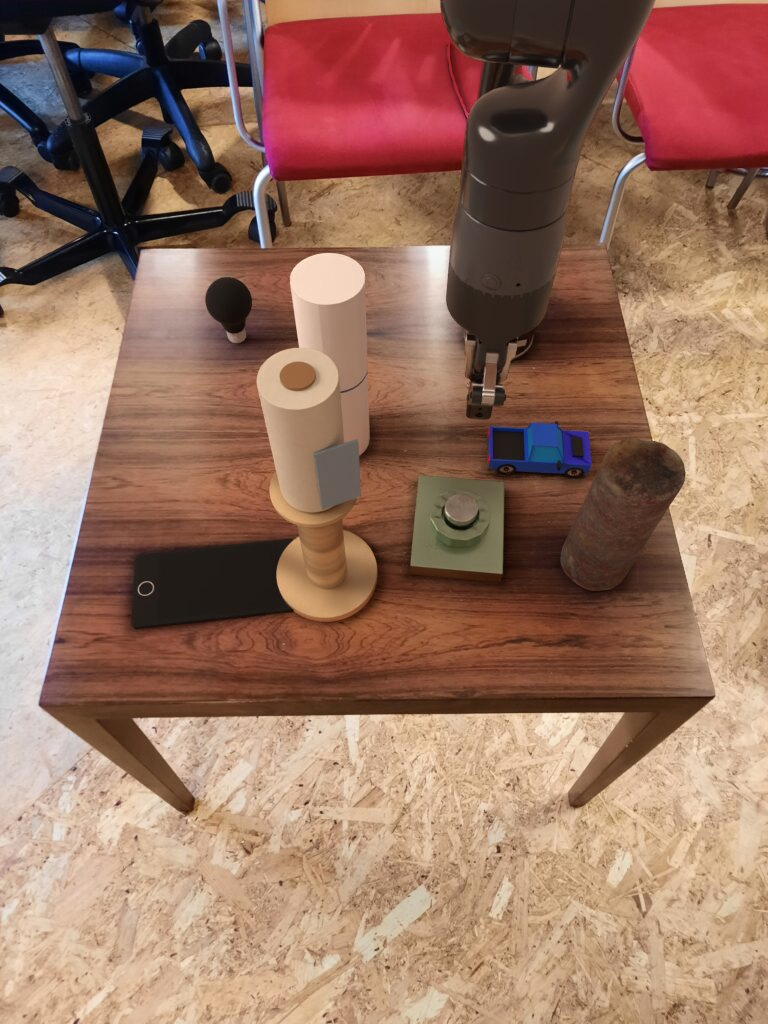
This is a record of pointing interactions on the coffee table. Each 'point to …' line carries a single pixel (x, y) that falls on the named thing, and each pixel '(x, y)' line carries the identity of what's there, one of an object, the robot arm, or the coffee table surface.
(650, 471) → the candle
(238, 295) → the light bulb
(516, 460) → the toy car
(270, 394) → the towel roll
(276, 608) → the cell phone
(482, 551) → the button box
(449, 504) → the button
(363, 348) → the cylindrical container
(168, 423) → the coffee table surface
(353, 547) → the towel holder
